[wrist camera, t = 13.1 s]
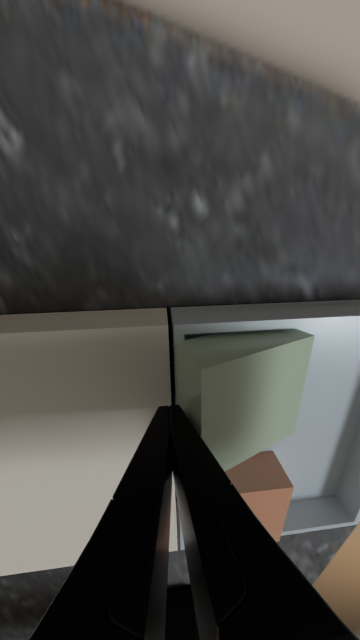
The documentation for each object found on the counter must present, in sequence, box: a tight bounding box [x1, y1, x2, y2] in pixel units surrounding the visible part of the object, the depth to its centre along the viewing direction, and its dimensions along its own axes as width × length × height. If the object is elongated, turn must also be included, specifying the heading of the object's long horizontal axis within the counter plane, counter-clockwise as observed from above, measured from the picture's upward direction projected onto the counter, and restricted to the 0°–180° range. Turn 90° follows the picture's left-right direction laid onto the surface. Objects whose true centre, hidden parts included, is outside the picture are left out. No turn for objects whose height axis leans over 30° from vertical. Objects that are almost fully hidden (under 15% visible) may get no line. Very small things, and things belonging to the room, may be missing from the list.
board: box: [0, 308, 178, 576], centre depth 10 cm, size 15×12×2 cm
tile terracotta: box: [225, 451, 294, 542], centre depth 12 cm, size 5×5×2 cm
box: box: [171, 299, 360, 550], centre depth 11 cm, size 15×12×2 cm
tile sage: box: [175, 328, 315, 471], centre depth 8 cm, size 5×5×2 cm
